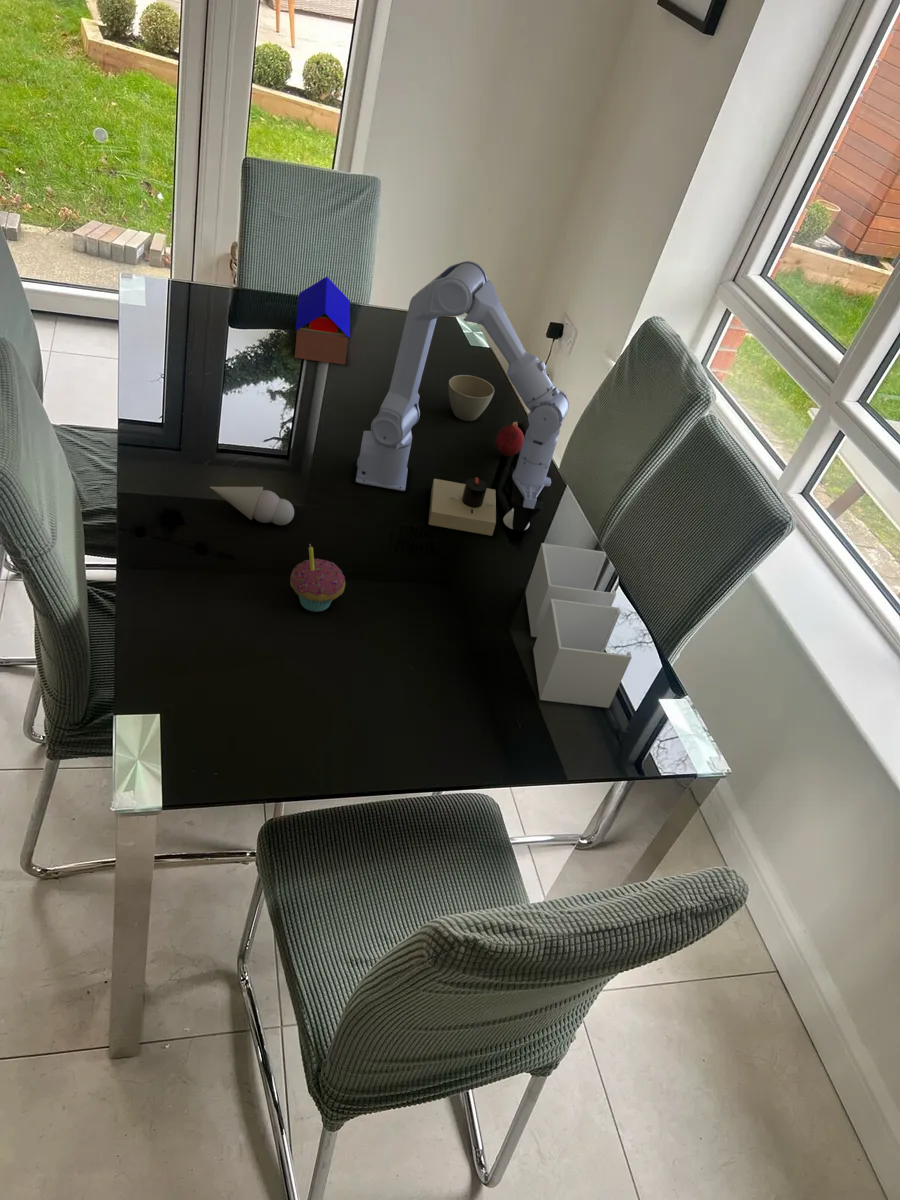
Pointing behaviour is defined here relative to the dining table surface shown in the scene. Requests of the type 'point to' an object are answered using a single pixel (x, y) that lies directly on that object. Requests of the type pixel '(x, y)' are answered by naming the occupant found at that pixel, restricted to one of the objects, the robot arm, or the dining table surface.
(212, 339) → the dining table surface
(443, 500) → the panel
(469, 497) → the knob
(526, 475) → the robot arm
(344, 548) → the dining table surface
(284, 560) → the dining table surface
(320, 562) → the cupcake
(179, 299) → the dining table surface
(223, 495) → the ice cream cone
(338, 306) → the house
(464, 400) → the flower pot
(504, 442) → the onion
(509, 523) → the white jar
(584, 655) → the storage container
